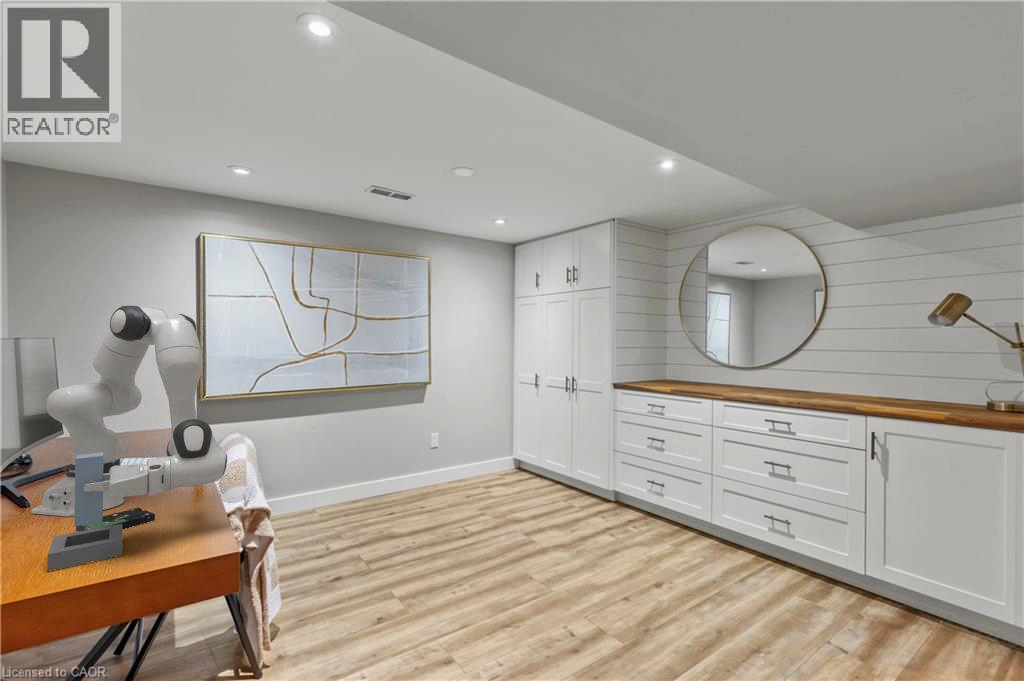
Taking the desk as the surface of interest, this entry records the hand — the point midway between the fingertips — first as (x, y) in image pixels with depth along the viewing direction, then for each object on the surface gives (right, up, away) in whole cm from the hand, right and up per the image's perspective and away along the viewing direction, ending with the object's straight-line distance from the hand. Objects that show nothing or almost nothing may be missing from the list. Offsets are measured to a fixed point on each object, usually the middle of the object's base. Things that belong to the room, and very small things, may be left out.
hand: (84, 484), depth 115 cm
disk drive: (-8, -18, +19) cm, 27 cm away
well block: (0, -17, 0) cm, 17 cm away
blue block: (+1, -9, 0) cm, 9 cm away
